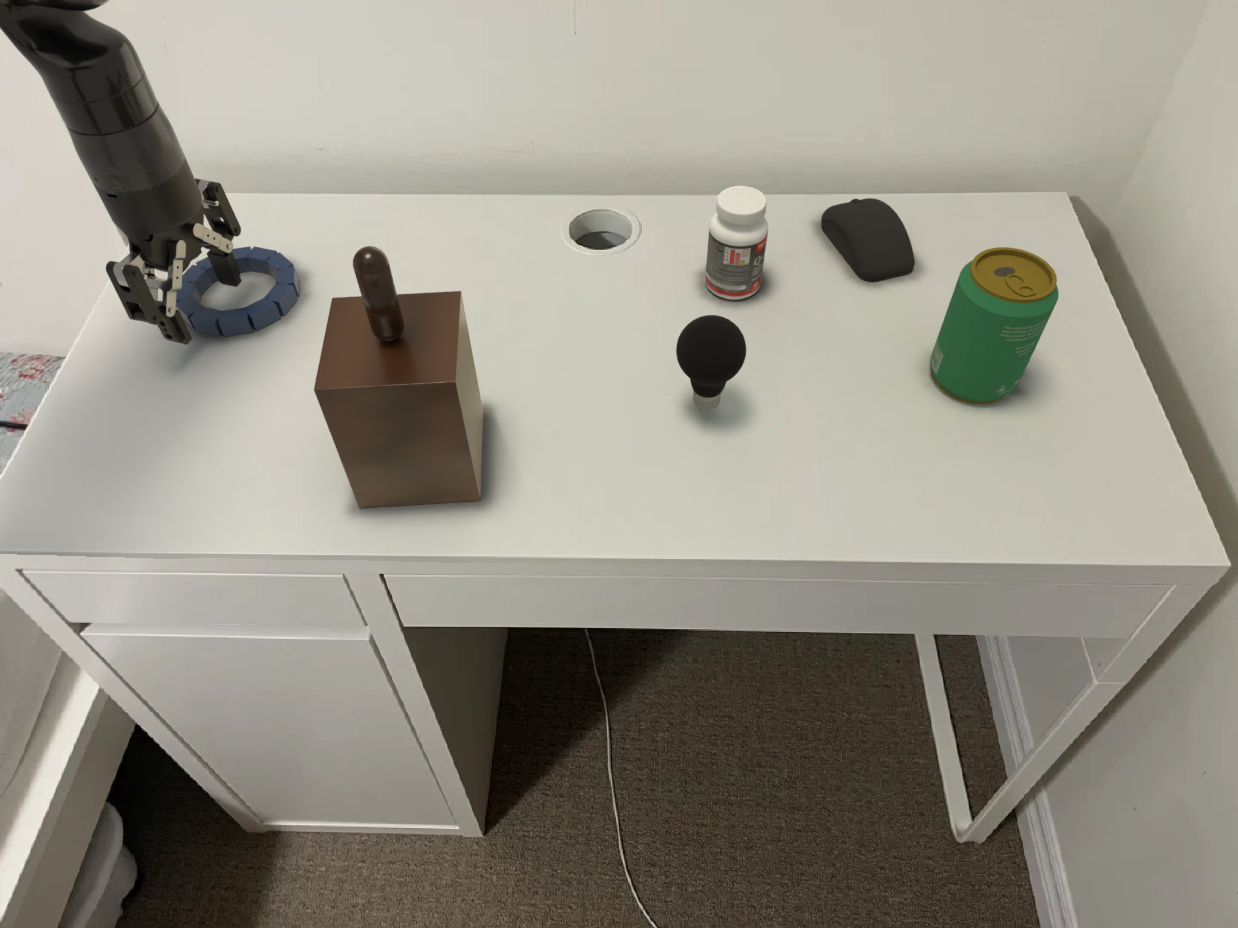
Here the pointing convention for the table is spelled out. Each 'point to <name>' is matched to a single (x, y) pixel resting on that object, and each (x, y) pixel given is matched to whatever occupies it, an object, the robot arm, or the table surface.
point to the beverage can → (993, 324)
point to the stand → (401, 392)
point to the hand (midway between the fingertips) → (207, 311)
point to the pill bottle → (737, 243)
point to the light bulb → (710, 357)
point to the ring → (245, 317)
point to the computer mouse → (870, 238)
